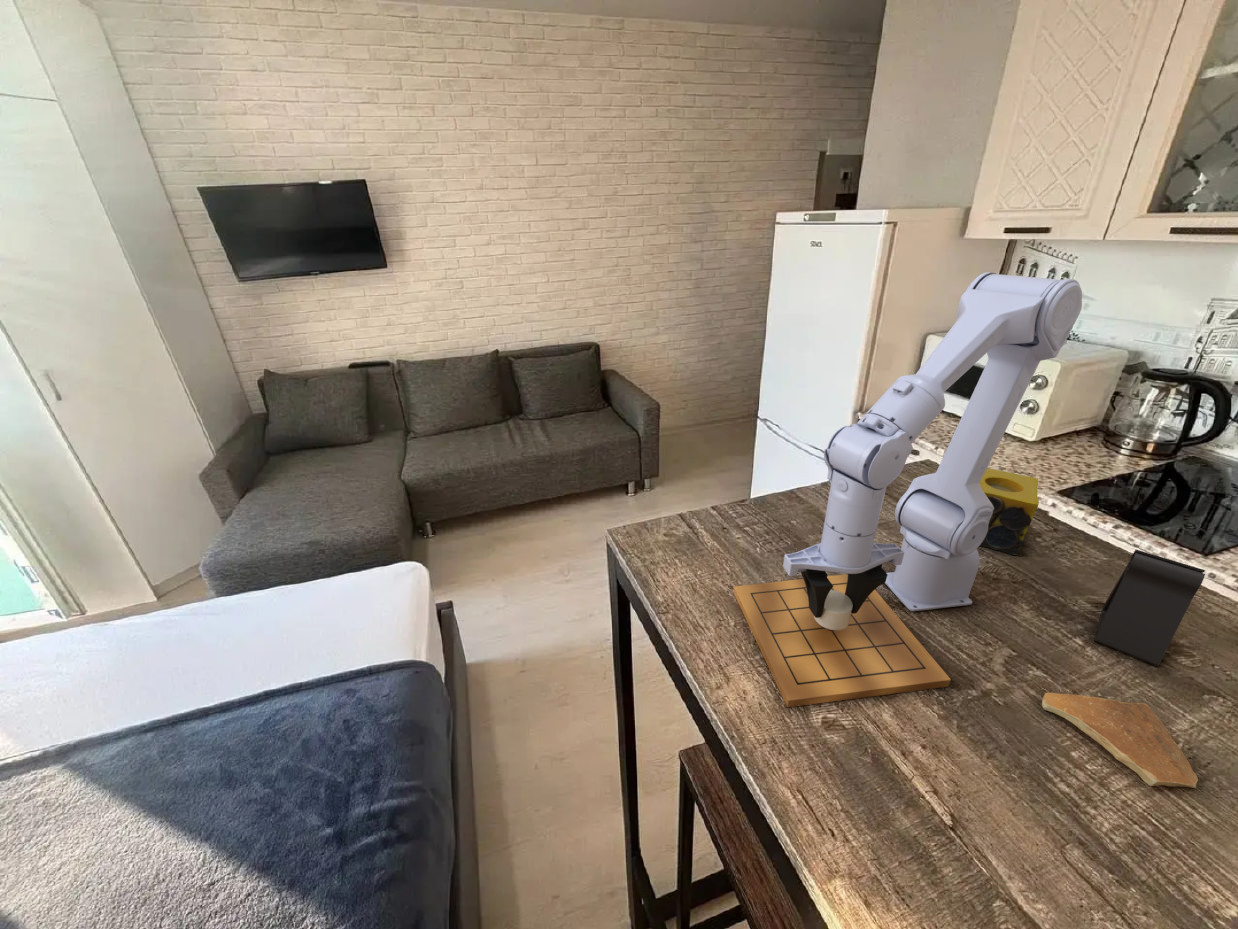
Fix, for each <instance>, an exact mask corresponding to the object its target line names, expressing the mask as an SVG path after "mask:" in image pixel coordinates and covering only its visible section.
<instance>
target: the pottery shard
mask: <svg viewBox="0 0 1238 929" xmlns="http://www.w3.org/2000/svg"><path fill="white" fill-rule="evenodd" d="M1041 707H1042V709H1043V710H1044V711H1048V712H1050V713H1053V714H1055V715H1057V716H1059V717H1062V718H1064V719H1065V720H1067V721H1068V722H1070V723H1072V724H1073V726H1076V727H1077V728H1078V729H1079V730H1080V731H1082V732H1083V733H1084V734H1086V735H1087V736H1088V737H1090V738H1091V739H1092V740H1094V741H1095V742H1097V743H1098V744H1099V745H1101V747H1103V748H1104V749H1105V750H1106V751H1107V752H1109V753H1110V754H1111V755H1112V756H1113V757H1114V759H1116V760H1117V761H1118V762H1120V763H1122V764H1124V765H1125V766H1126V767H1128V768H1129V769H1130V770H1132V771H1133V772H1135V774H1137V775H1138V776H1139V778H1141V780H1143V782H1144V783H1145V784H1147V785H1148V786H1149V787H1155V786H1166V787H1184V788H1185V787H1186V788H1191V789H1196V788H1197V783H1198V781H1199V778H1198V776H1197V774H1196V773H1195V772H1194V770H1193V769H1192V765H1191V763H1190V762H1189V760H1188V758H1187V757H1186V755H1185V754H1184V753H1183V751H1182V749H1181V747H1180V746H1179V745H1178V743H1176V742H1175V740H1174V739H1173V738H1172V736H1171V734H1170V731H1169V730H1168V728H1167V727H1166V726H1165V725H1164V724H1163V722H1162V721H1161V720H1160V718H1159V717H1158V716H1157V715H1156V714H1155V712H1154V711H1153V710H1152V708H1150V706H1149V705H1148V704H1147V703H1142V702H1126V701H1125V702H1124V701H1119V700H1116V699H1109V698H1102V697H1097V696H1088V695H1081V694H1069V693H1059V692H1058V693H1057V692H1045V693H1044V695H1043V696H1042V702H1041Z"/></svg>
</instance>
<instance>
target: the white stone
mask: <svg viewBox="0 0 1238 929" xmlns="http://www.w3.org/2000/svg"><path fill="white" fill-rule="evenodd" d="M852 608H853V603H852V601H851V599H850V598H849V597H848V596H846V595H845V594H843V593H841V592H839V591H835V590H830V592H829V593H828V595H827V598H826V600H825V604H824V610H823V614H822V616H821V617H819V618H816V617H815V616H814V618H815V620H816V622H817V623H818V624H820V625H821V626H823V627H825V628H827V629H830V630H842V629H845V628H846V627H847V626H848V625H849V621H850V617H851V612H852Z"/></svg>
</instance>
